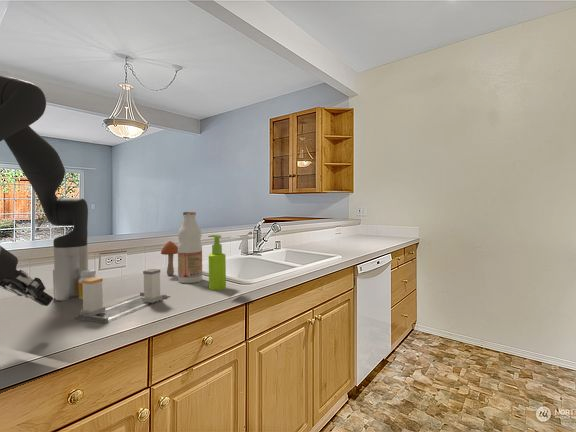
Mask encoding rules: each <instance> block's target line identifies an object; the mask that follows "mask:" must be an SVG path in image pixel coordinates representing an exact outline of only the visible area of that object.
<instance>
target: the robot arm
mask: <svg viewBox="0 0 576 432" xmlns="http://www.w3.org/2000/svg"><path fill="white" fill-rule="evenodd" d="M46 99H47V97H46V95H45V94H44V91H43V90H42V89H41V88H40V87H39V86H37V84H34V83H32V82H30V81H27V80H23V79H19V78H15V77H11V76H8V75H3V74H0V142H2V141H4V142H5V144H6V145H7V147H8V149H9V150H10V152H11V154H12V155H13V156H14V158H15V160H16V162H17V164H18V165H19V166H18V167H20V169H21V171H22V173H23V175H24V176H25V177H26V179H27V181H28V182H29V184H30V185H31V187H32V189H33V191H34V192H35V194H36V196H37V198H38V201H39V203H40V205H41V208H42V210H43V213H44V216H45V218H46V219H47V221H48V222H49V223H50V224H51V225H53V226H56V227H57V226H58V227H59V226H61V227H65V226H72V227H73V229H72V230H71V231H70V232H68V233H67V234H63V235H60V236H57V237H55V238H54V239H53V242H52V243H53V264H54V265H53V268H54V269H53V270H52V283H53V284H52V285H53V287H52V288H53V289H52V290H53V296H52V295H50V294H48V293H46V291H45V290H46V287H45V284H44V283H43V282H42V280H41V278H39V277H34V279H33V278H32V277H31V276H29V274H28V273H27V272H26V271H24V270H22V269H19V270H17V267H18V263H19V259H18V257H17V256H16V255H14V254H13V253H11V252H10V251H8V250H7V249H5V248H4V247H3V246H1V245H0V288H1V289H3V290H5V291H7V292H9V293H13V294H14V295H17V296H18V297H24V298H26V299H30V300H32V301H34V302H36V303H37V304H39V305H40V306H45V307H48V306H49V305H50V304H51V302H52V301H53V300H54V299H55V301H60V302H61V301H68V300H70V299H74V298H77V297H78V298H79V284H78V282H79V279H80V278H82V276H81V271H84V270H89V255H88V254H89V253H88V223H89V219H88V218H89V217H88V216H89V209H88V208H89V207H88V203H87V200H85V199H84V198H81V197H58V196H57V195H56V193H57V191H58V189H59V187H61V184H62V183H63V181H64V179H65V177H66V168H65V167H64V164H63V161H62V159H61V157H60V155H59V153H58V151H57V150H56V149H55V148H54V147H53V146H52V145H51V144H50V143H49V142H48V141H47V140H46V139H45V138H44V137H42V136H41V135H40V134H39V133H37V132H36V131H35V130H34V129H33V128H32V127H31V125H32V124H34V123H35V122H37V121H39V119H40V118H41V117H43V115H44V114H45V112H46V107H47V100H46Z"/></svg>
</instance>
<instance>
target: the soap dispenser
mask: <svg viewBox="0 0 576 432" xmlns="http://www.w3.org/2000/svg"><path fill="white" fill-rule="evenodd" d="M207 237H208V238H214V239H213V240H214V241H213V242H214V243H213V244H211V253H210V254H208V289H209V290H211V291H219V290H220V291H221V290H223V289H224V290H225V289H227V282H226V281H227V280H226V279H227V278H226V277H227V275H226V274H227V272H226V271H227V270H226V269H227V267H226V266H227V265H226V254H225V253H223V248H222V247H223V245H222V244H221V243H220V239H221V238H222V235H220V234H211V235H207Z"/></svg>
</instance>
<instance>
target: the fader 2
mask: <svg viewBox="0 0 576 432" xmlns="http://www.w3.org/2000/svg"><path fill="white" fill-rule="evenodd" d="M142 273H143V292H144V297H142V301H144V302H151V303H153V302H156V301H158V300H161V299H162V295H160V294H161V269H157V268H156V269H155V268H150V269H146V270H143V271H142Z"/></svg>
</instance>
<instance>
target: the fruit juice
mask: <svg viewBox="0 0 576 432" xmlns="http://www.w3.org/2000/svg"><path fill="white" fill-rule="evenodd" d="M196 214H197V212H196V211H183V212H182V216H183V219H182V223H181V226H180V228H179V229H178V231H177V237H178V241H179V242H178V244H177V247H178V253H177V273H178V274H177V278H178V282H179V283H180V284H194V283H199V282H202V281H203V245H202V242H201V238H202V230H201V228H200V227H199V225H198V223H197V219H196Z"/></svg>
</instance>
